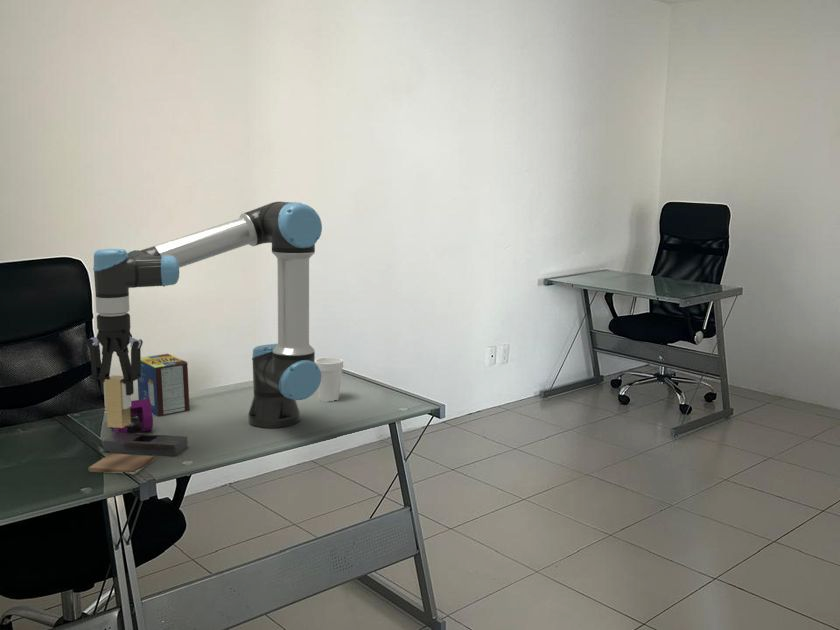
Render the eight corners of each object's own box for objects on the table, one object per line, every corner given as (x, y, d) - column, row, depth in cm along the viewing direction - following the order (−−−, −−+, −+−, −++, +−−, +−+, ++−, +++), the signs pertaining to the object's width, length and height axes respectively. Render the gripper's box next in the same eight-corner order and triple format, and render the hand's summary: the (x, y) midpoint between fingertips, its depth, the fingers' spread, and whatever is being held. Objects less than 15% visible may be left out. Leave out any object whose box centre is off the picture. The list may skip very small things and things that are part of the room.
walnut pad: (154, 460, 197) (154, 456, 196) (134, 474, 187) (134, 470, 187) (110, 457, 198) (110, 453, 198) (88, 471, 189) (88, 467, 188)
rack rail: (187, 447, 206) (187, 436, 206) (175, 456, 199) (175, 445, 199) (117, 442, 209) (117, 432, 209) (103, 451, 202) (102, 440, 202)
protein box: (170, 399, 250) (167, 353, 248) (190, 410, 239) (188, 361, 236) (137, 405, 244) (135, 357, 241) (157, 417, 232) (154, 367, 229)
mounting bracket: (108, 443, 226) (119, 433, 211) (104, 415, 228) (114, 403, 213) (141, 438, 231) (154, 427, 216) (137, 410, 233) (149, 398, 218)
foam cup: (341, 403, 248) (341, 364, 246) (312, 403, 248) (312, 363, 246) (344, 395, 257) (344, 357, 255) (316, 394, 258) (316, 357, 255)
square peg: (130, 423, 192) (128, 376, 190) (122, 427, 188) (119, 380, 186) (115, 422, 193) (113, 375, 191) (107, 426, 189) (104, 379, 187)
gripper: (154, 312, 188) (158, 404, 192) (89, 309, 191) (94, 400, 195) (138, 317, 181) (143, 413, 185) (71, 314, 183) (77, 409, 187)
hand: (118, 406), depth 190 cm, fingers closed on square peg, 4 cm apart
